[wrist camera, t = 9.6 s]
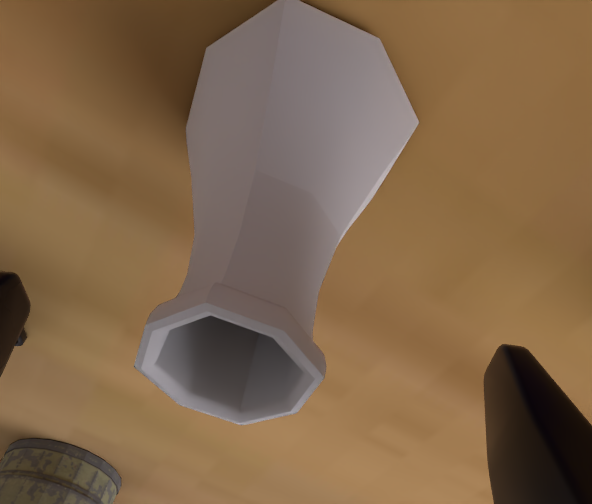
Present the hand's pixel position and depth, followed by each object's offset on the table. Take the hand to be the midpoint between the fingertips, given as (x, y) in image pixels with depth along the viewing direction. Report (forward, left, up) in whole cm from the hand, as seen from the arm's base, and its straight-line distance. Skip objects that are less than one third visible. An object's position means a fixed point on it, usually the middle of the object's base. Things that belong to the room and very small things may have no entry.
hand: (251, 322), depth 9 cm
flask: (0, 0, -9) cm, 9 cm away
